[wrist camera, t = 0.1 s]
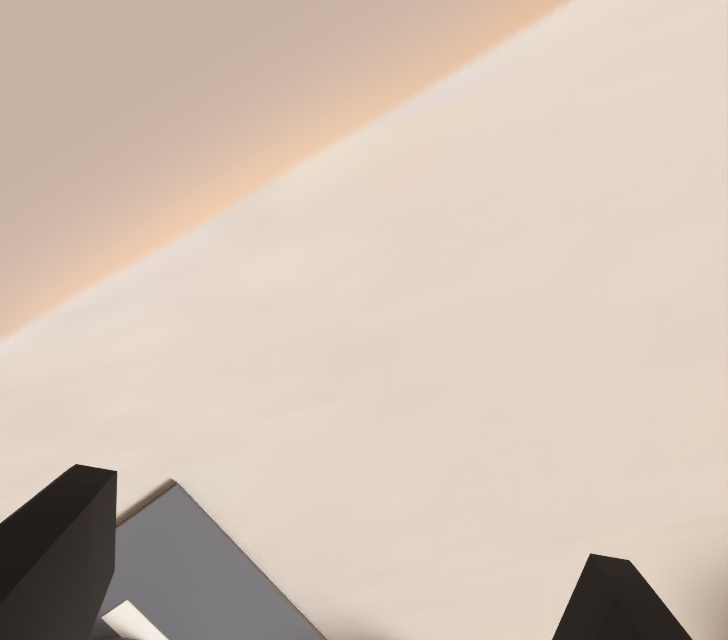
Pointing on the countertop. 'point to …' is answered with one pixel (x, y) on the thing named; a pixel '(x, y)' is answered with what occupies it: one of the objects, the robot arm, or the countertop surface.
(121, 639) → the grey jar
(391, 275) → the countertop surface
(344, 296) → the countertop surface
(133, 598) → the letter card
